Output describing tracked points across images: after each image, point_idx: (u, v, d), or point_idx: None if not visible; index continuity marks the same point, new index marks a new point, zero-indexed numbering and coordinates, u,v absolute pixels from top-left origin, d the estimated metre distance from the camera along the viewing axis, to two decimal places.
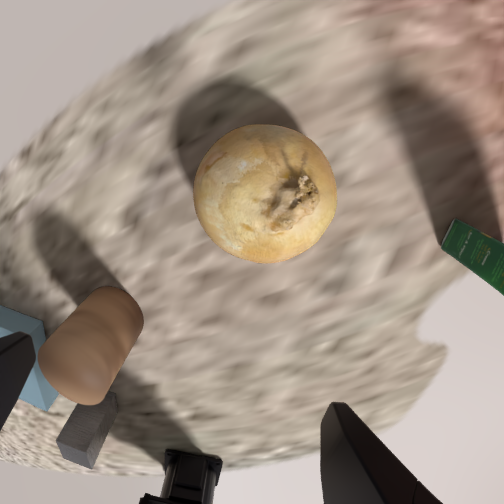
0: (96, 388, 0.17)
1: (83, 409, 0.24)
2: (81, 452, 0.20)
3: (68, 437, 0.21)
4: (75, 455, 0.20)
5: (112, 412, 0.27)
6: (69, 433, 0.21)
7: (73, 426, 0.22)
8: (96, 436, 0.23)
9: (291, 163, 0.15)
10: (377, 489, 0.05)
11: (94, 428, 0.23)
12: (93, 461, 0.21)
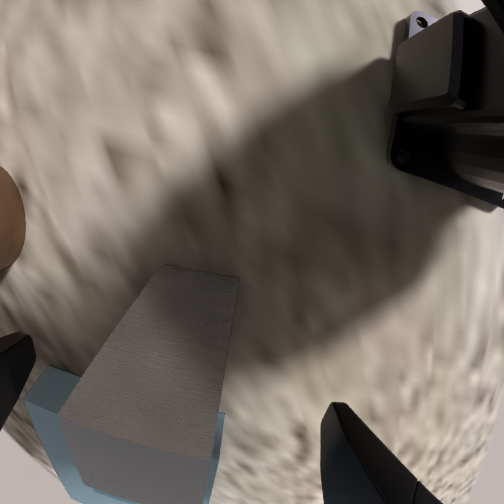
0: None
1: None
2: (68, 432, 0.05)
3: None
4: (122, 470, 0.05)
5: (197, 285, 0.11)
6: None
7: None
8: (130, 352, 0.07)
9: None
10: (377, 489, 0.05)
11: (110, 344, 0.07)
12: (191, 426, 0.05)
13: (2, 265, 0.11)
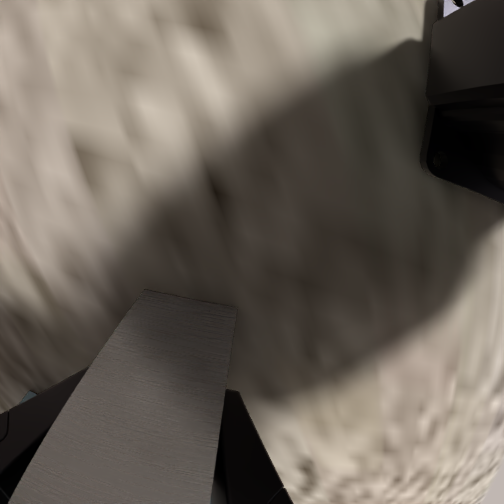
0: None
1: None
2: None
3: None
4: None
5: (185, 320, 0.09)
6: None
7: None
8: (94, 424, 0.05)
9: None
10: (228, 486, 0.05)
11: (71, 407, 0.05)
12: None
13: None
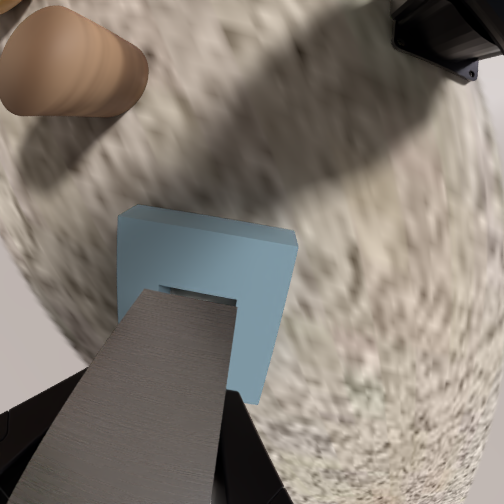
0: (49, 18, 0.09)
1: None
2: None
3: None
4: None
5: (185, 319, 0.09)
6: None
7: None
8: (93, 423, 0.05)
9: None
10: (228, 486, 0.05)
11: (71, 406, 0.05)
12: None
13: (126, 103, 0.16)
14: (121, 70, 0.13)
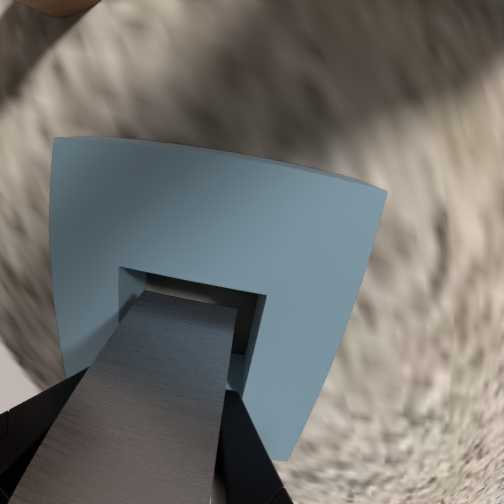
0: None
1: None
2: None
3: None
4: None
5: (185, 320, 0.09)
6: None
7: None
8: (92, 426, 0.05)
9: None
10: (228, 486, 0.05)
11: (70, 408, 0.05)
12: None
13: None
14: None
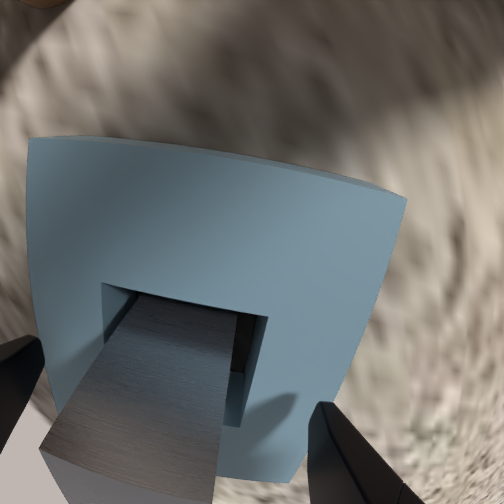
0: None
1: None
2: (52, 464, 0.04)
3: None
4: None
5: None
6: None
7: None
8: (120, 374, 0.06)
9: None
10: (361, 490, 0.05)
11: (99, 363, 0.07)
12: (189, 464, 0.04)
13: None
14: None
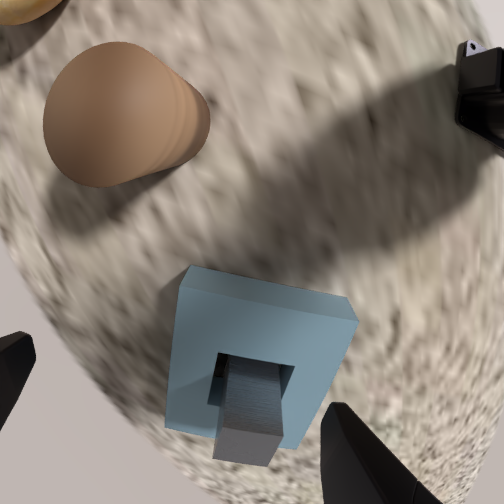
0: (121, 59, 0.09)
1: (222, 392, 0.19)
2: (224, 433, 0.14)
3: (216, 437, 0.15)
4: (242, 446, 0.14)
5: None
6: (217, 432, 0.16)
7: (218, 420, 0.16)
8: (240, 395, 0.16)
9: None
10: (377, 489, 0.05)
11: (226, 390, 0.16)
12: (274, 425, 0.14)
13: (187, 158, 0.16)
14: (195, 129, 0.13)
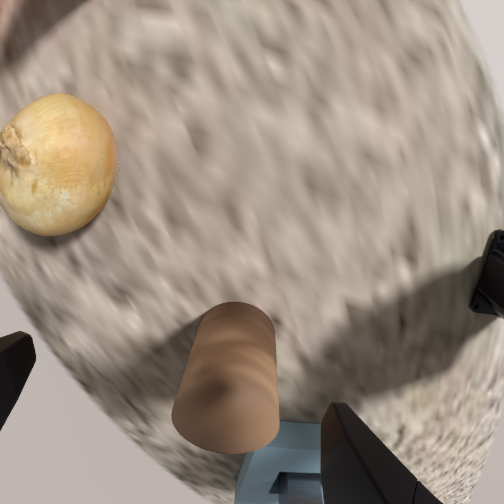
0: (238, 400, 0.13)
1: (280, 489, 0.23)
2: None
3: None
4: None
5: None
6: None
7: None
8: (296, 498, 0.21)
9: None
10: (377, 489, 0.05)
11: (287, 495, 0.21)
12: None
13: None
14: None
